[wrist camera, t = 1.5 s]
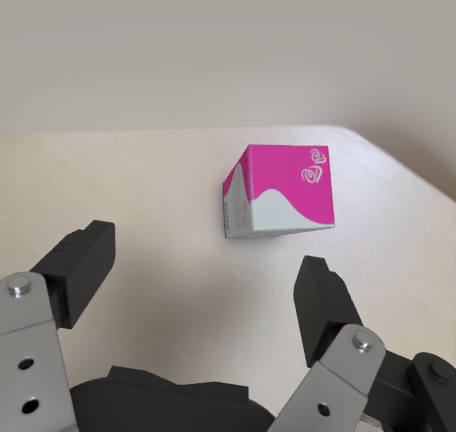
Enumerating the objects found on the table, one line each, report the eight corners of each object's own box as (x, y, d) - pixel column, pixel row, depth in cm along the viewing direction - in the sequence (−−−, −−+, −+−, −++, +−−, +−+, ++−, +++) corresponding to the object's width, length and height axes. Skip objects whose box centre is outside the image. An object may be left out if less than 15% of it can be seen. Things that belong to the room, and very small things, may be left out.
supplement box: (281, 236, 31) (337, 230, 19) (224, 238, 30) (247, 233, 18) (278, 180, 31) (330, 143, 20) (222, 181, 30) (243, 142, 19)
